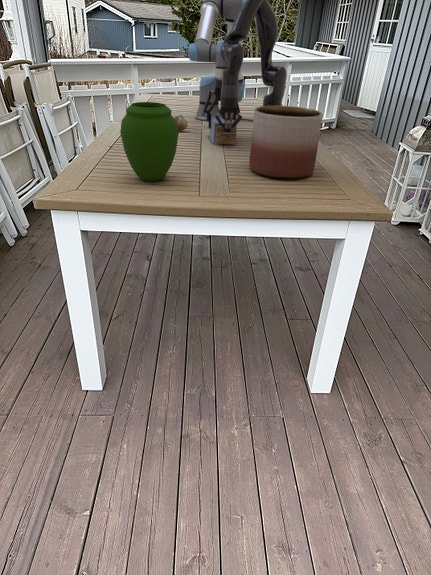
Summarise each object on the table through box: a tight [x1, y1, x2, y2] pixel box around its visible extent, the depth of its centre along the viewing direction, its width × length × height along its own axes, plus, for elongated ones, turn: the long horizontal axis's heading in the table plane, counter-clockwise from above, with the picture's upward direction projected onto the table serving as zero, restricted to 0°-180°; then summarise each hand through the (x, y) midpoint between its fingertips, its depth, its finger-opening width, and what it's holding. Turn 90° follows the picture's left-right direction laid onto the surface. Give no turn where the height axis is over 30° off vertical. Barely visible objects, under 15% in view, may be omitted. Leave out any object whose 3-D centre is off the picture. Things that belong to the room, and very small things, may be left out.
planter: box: [248, 105, 324, 180], centre depth 156 cm, size 25×25×22 cm
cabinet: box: [208, 116, 238, 145], centre depth 200 cm, size 16×11×10 cm
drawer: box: [215, 125, 238, 145], centre depth 195 cm, size 20×10×8 cm, turn 9°
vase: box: [119, 101, 179, 182], centre depth 140 cm, size 20×20×24 cm
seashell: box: [173, 114, 189, 132], centre depth 214 cm, size 10×6×8 cm, turn 97°
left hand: (220, 128), depth 204 cm, fingers closed on cabinet, 11 cm apart
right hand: (227, 136), depth 189 cm, fingers closed
